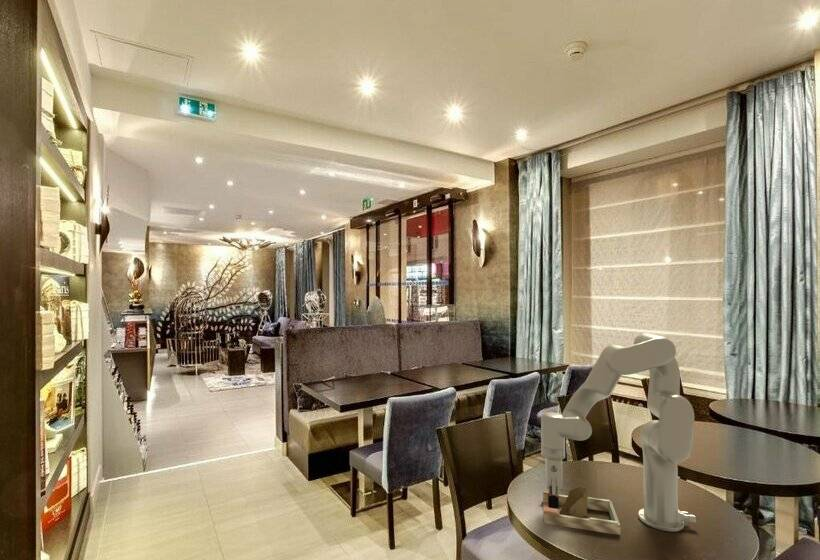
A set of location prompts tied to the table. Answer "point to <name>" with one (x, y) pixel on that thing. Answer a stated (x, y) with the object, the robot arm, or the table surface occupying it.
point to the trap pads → (549, 510)
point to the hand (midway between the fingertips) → (553, 507)
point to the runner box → (585, 523)
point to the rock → (575, 503)
